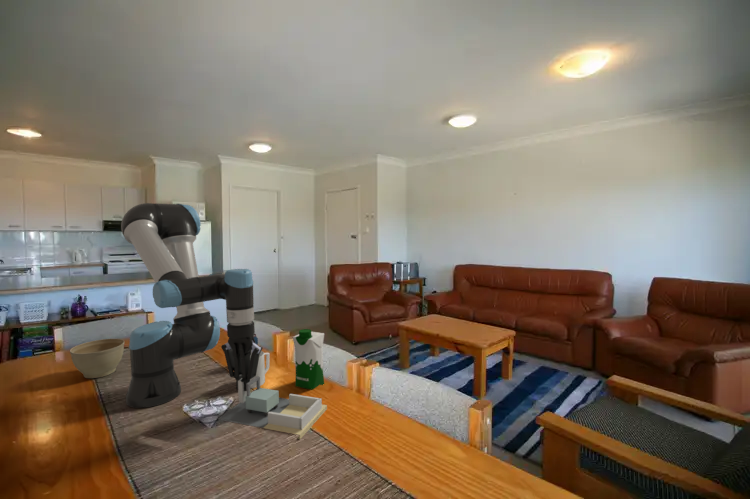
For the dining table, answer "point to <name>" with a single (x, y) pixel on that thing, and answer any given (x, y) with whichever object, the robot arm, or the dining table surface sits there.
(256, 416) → the dock
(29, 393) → the dining table surface
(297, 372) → the milk carton
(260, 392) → the grey boxy piece
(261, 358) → the mug
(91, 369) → the planter bowl
